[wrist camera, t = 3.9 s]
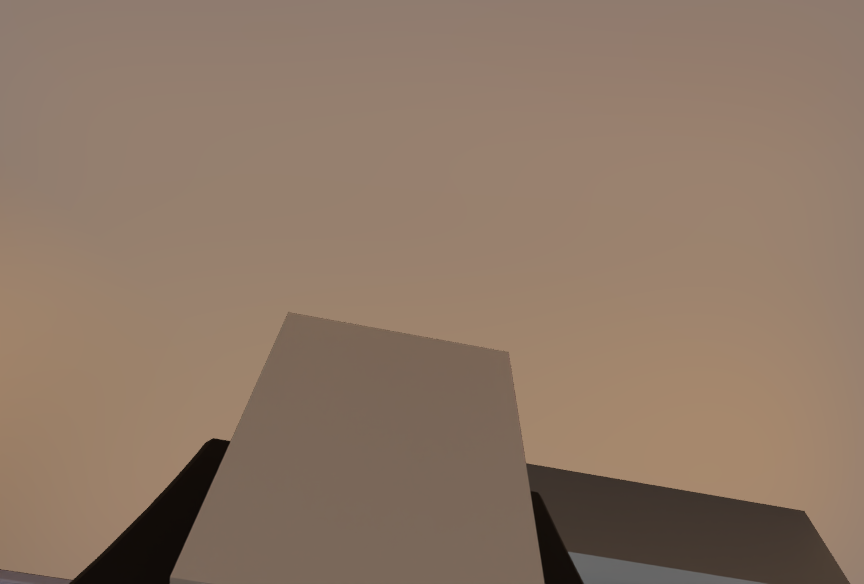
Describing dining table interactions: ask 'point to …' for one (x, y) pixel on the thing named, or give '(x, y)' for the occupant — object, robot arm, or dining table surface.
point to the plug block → (370, 468)
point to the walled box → (678, 534)
